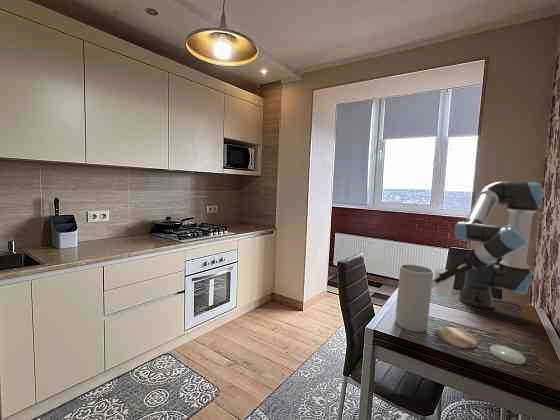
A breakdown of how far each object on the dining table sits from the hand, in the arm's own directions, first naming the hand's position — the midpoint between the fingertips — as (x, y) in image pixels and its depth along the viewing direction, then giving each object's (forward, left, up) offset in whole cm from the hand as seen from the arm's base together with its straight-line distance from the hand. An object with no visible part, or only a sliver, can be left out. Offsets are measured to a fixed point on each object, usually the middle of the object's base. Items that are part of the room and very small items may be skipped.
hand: (435, 283), depth 128 cm
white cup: (-1, +3, -4) cm, 5 cm away
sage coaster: (-3, +29, -17) cm, 34 cm away
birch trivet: (+5, +15, -17) cm, 23 cm away
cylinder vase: (+15, +2, -17) cm, 23 cm away
